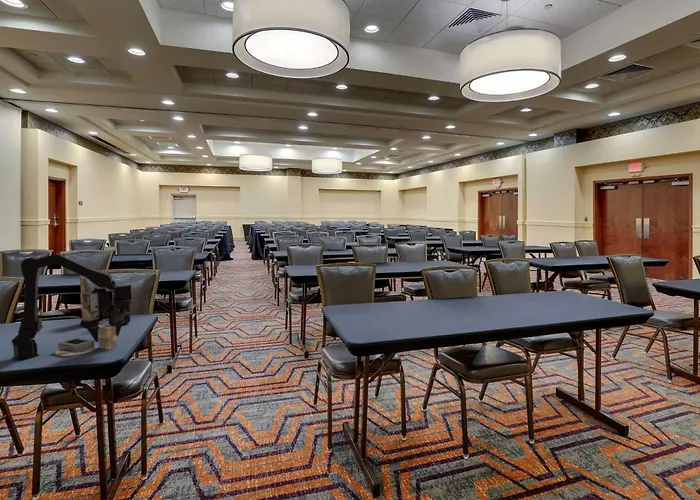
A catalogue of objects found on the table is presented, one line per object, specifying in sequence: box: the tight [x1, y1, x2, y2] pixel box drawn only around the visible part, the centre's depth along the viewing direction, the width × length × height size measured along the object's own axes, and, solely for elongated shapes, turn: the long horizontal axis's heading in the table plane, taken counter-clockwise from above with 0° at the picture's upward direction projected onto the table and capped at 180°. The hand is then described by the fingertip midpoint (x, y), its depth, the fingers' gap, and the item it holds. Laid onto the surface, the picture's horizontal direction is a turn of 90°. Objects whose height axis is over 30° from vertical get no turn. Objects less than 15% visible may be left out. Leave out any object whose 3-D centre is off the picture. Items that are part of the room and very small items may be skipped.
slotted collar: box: [54, 337, 98, 358], centre depth 169 cm, size 14×14×4 cm
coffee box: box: [79, 291, 104, 325], centre depth 212 cm, size 9×6×16 cm
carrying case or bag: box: [108, 296, 132, 326], centre depth 208 cm, size 11×3×15 cm, turn 127°
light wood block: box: [98, 324, 118, 350], centre depth 173 cm, size 4×6×9 cm, turn 67°
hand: (107, 338), depth 173 cm, fingers open, 9 cm apart
